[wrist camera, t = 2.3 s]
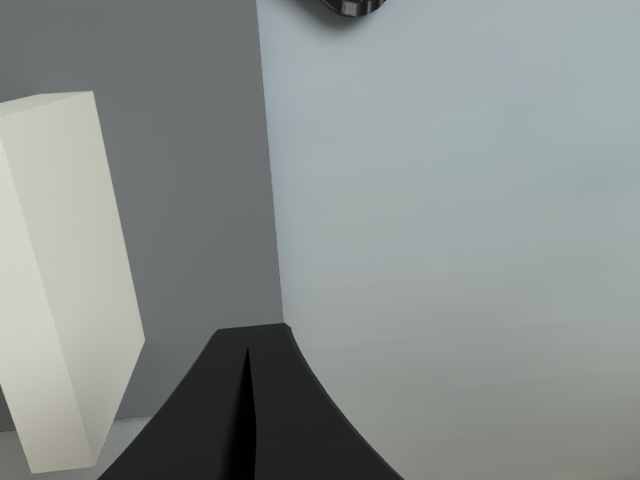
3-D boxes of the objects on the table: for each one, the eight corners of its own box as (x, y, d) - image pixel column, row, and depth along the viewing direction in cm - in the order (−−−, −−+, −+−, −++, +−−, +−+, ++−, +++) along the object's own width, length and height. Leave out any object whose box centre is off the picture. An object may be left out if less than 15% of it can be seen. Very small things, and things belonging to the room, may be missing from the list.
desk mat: (289, 390, 21) (289, 400, 20) (-62, 428, 20) (-71, 439, 19) (252, -43, 15) (251, -45, 14) (-255, -24, 14) (-277, -27, 13)
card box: (145, 340, 19) (95, 466, 13) (100, 344, 19) (31, 473, 13) (93, 91, 15) (-5, 119, 10) (38, 94, 15) (-92, 124, 10)
